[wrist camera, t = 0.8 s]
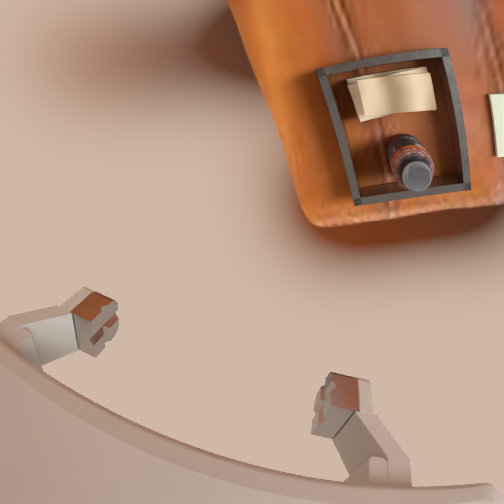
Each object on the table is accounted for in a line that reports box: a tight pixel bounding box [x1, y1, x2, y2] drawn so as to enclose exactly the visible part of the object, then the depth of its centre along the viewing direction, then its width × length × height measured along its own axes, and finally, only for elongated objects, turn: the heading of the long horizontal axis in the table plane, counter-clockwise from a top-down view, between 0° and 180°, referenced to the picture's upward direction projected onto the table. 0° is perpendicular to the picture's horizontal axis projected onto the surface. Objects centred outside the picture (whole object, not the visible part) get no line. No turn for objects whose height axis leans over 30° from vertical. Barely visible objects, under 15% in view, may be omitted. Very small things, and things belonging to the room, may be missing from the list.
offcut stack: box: [347, 66, 437, 122], centre depth 36 cm, size 12×6×6 cm, turn 110°
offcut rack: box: [316, 48, 471, 206], centre depth 39 cm, size 19×21×4 cm
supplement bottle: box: [387, 134, 434, 192], centre depth 38 cm, size 6×6×11 cm
